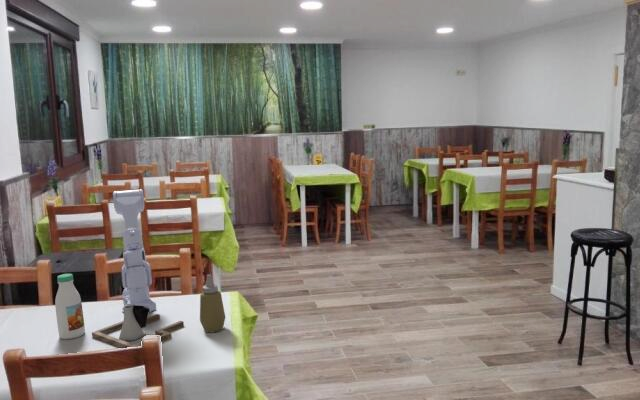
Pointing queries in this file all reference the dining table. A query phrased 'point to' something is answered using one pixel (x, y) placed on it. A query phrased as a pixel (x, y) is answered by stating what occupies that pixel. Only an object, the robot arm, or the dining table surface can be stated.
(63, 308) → the milk bottle
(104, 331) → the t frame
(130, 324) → the flask
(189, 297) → the dining table surface
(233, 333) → the dining table surface
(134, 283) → the robot arm
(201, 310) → the squeeze bottle
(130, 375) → the dining table surface
